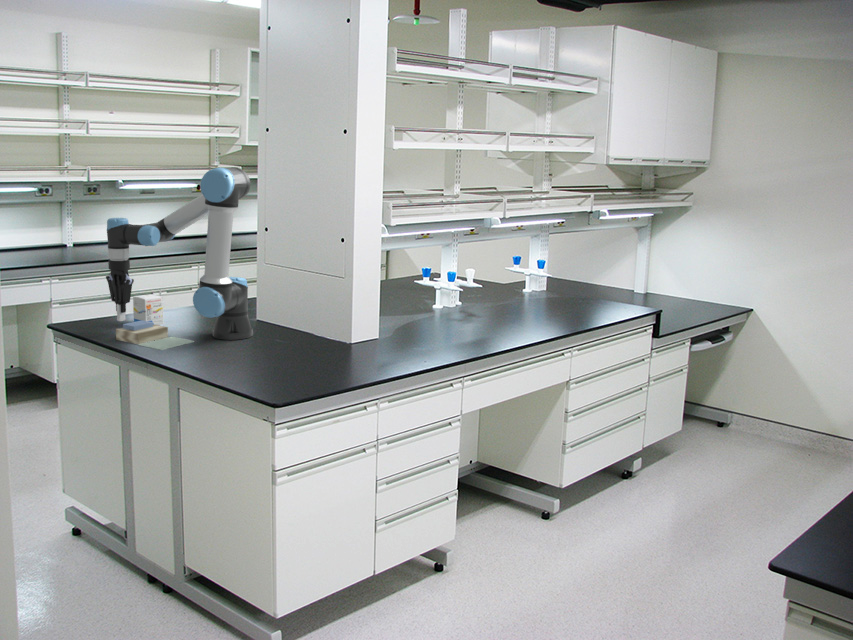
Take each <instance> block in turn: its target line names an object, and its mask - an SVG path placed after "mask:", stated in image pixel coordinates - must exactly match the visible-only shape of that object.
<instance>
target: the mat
mask: <svg viewBox="0 0 853 640" xmlns="http://www.w3.org/2000/svg"><path fill="white" fill-rule="evenodd" d="M191 343H195V340H191V339H186V338H181V337H177V336H170V337H169V336H168V338H163V339H159V340H155V341H151V342H147V343H142V344H137V346H139V347H143V346H144V348H149V349H153V350H158V351H165V350H168V349H172V348H176V347H180V346H184V345H187V344H191Z"/></svg>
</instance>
